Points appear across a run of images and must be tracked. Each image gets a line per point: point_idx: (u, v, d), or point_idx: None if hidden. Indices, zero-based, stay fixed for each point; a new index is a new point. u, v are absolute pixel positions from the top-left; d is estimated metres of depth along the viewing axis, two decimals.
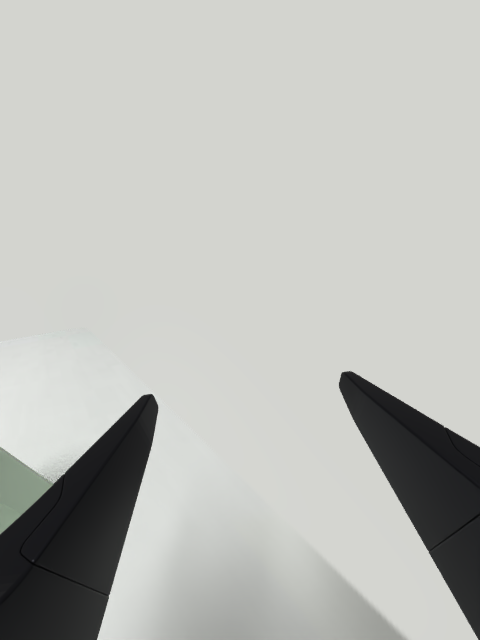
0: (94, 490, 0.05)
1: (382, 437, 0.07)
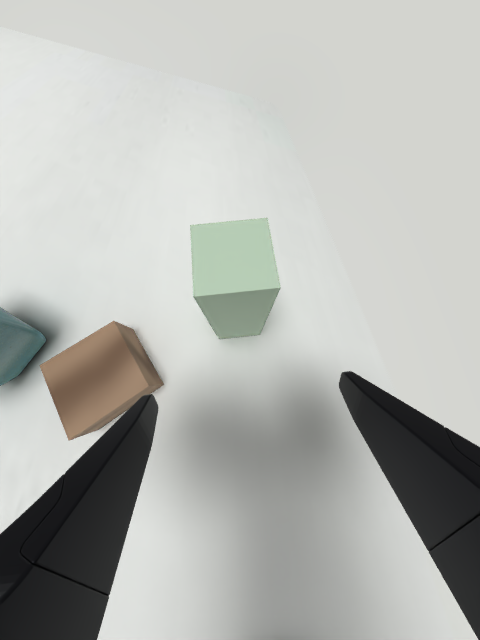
0: (94, 490, 0.05)
1: (382, 437, 0.07)
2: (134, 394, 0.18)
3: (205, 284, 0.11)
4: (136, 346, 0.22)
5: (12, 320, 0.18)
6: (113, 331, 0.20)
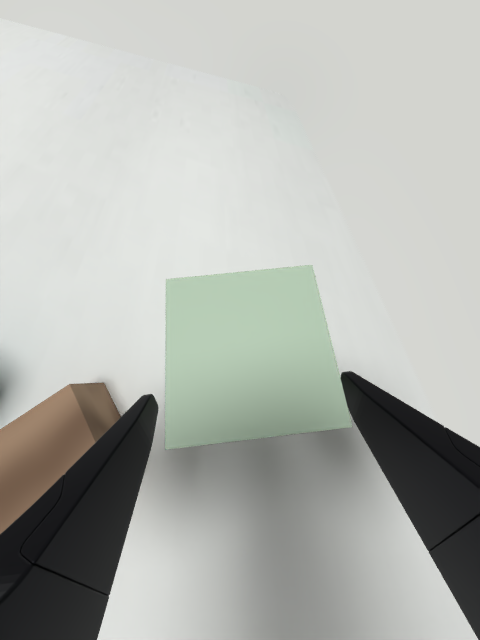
0: (94, 490, 0.05)
1: (382, 437, 0.07)
2: None
3: (191, 416, 0.05)
4: (104, 413, 0.16)
5: None
6: (68, 400, 0.14)
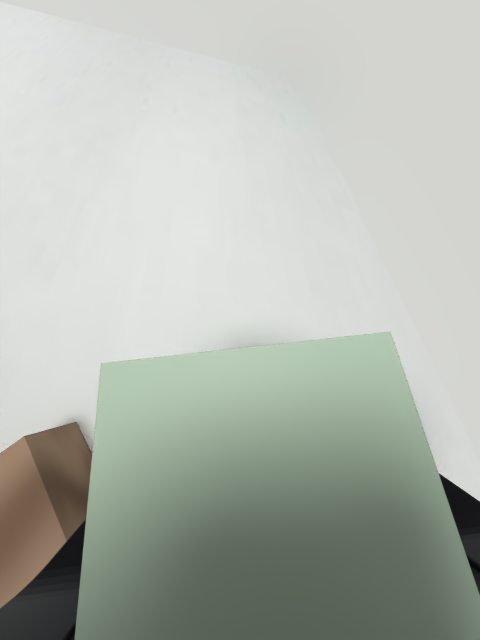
0: None
1: None
2: None
3: None
4: (74, 465, 0.13)
5: None
6: (22, 458, 0.11)
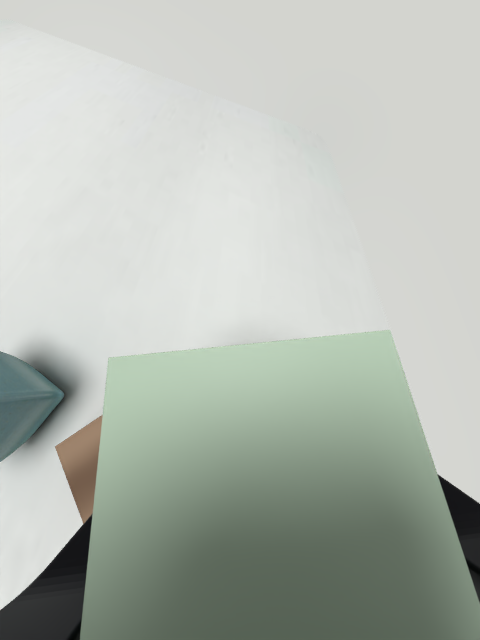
0: None
1: None
2: None
3: None
4: None
5: (32, 392, 0.17)
6: None
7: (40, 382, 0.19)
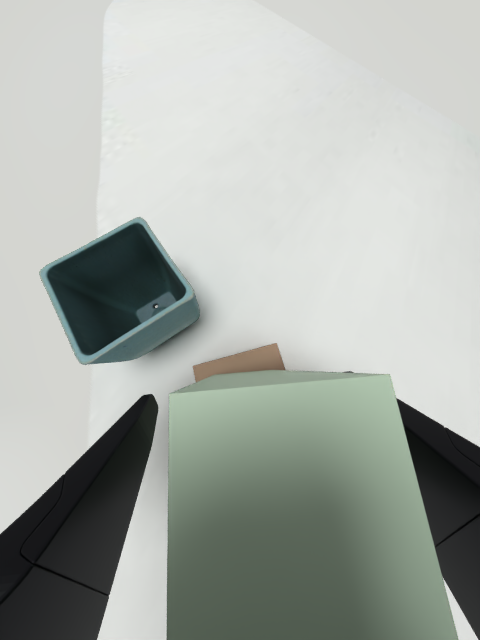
0: (94, 490, 0.05)
1: None
2: None
3: None
4: None
5: (197, 305, 0.17)
6: (274, 355, 0.18)
7: None
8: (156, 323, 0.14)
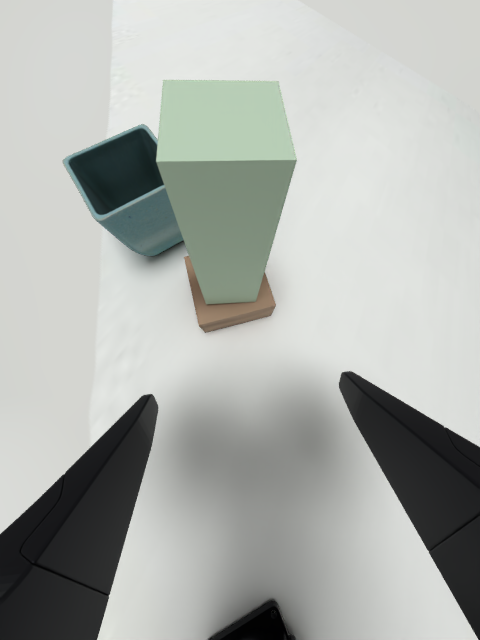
0: (94, 490, 0.05)
1: (382, 437, 0.07)
2: (261, 307, 0.19)
3: (177, 147, 0.07)
4: None
5: None
6: None
7: None
8: (155, 199, 0.17)
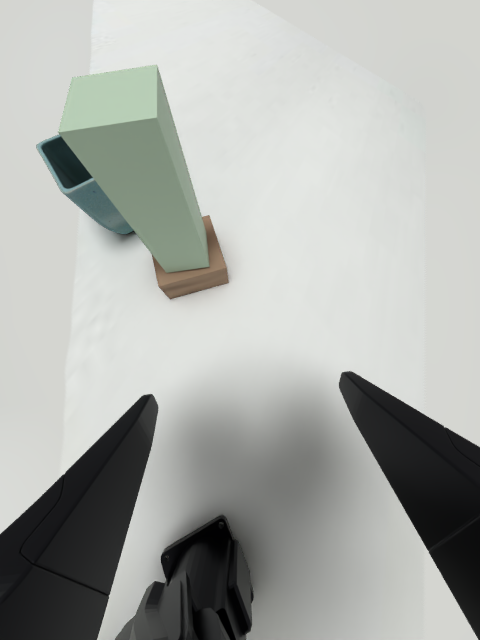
0: (94, 490, 0.05)
1: (382, 437, 0.07)
2: (214, 270, 0.22)
3: (73, 121, 0.10)
4: None
5: None
6: (207, 222, 0.24)
7: None
8: None
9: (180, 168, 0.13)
